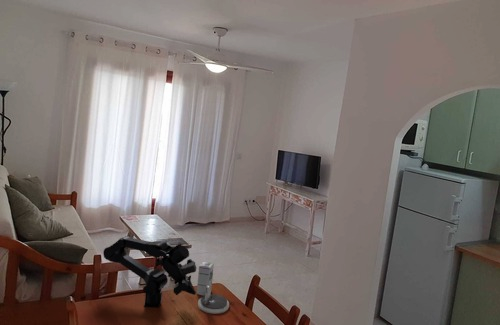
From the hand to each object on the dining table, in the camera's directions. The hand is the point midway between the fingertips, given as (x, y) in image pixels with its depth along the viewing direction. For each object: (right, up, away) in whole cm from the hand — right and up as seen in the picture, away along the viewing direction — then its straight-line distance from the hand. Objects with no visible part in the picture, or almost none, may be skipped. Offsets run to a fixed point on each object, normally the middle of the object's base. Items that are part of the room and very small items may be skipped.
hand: (195, 293), depth 165 cm
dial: (+8, -6, +6) cm, 11 cm away
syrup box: (+2, -6, +17) cm, 18 cm away
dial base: (+7, -7, +6) cm, 12 cm away
